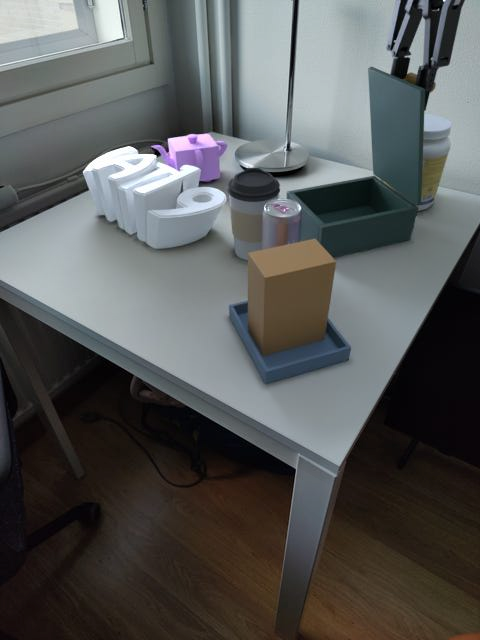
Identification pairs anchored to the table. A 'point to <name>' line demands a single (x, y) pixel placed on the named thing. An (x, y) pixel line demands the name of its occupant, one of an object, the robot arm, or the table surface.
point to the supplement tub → (433, 157)
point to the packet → (289, 295)
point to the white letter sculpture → (152, 198)
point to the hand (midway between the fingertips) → (405, 104)
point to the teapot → (195, 154)
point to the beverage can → (281, 223)
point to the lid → (397, 131)
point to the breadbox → (354, 215)
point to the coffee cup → (250, 207)
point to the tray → (290, 350)
